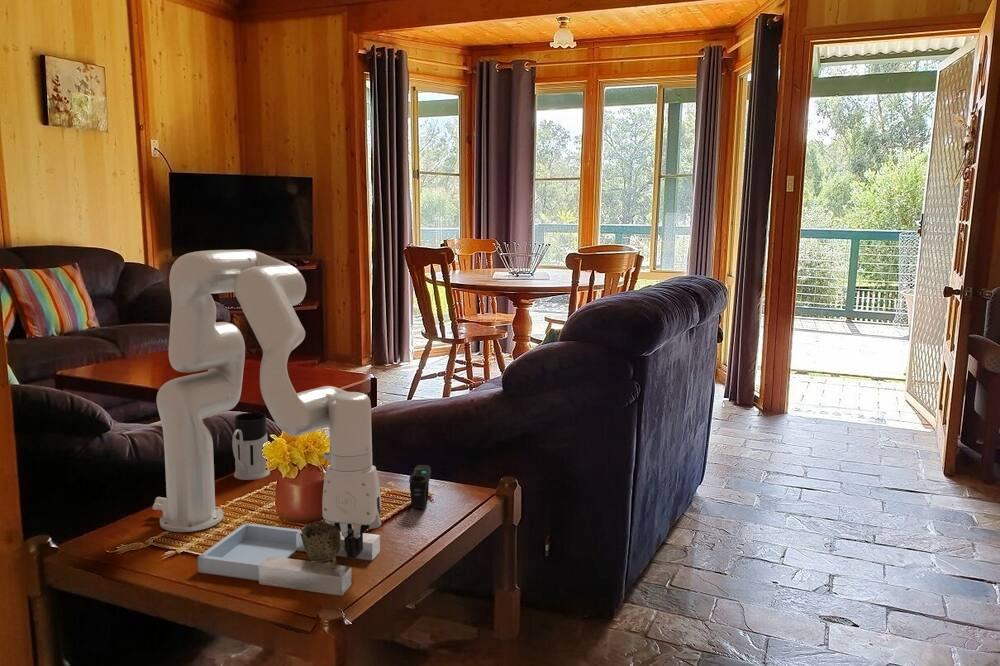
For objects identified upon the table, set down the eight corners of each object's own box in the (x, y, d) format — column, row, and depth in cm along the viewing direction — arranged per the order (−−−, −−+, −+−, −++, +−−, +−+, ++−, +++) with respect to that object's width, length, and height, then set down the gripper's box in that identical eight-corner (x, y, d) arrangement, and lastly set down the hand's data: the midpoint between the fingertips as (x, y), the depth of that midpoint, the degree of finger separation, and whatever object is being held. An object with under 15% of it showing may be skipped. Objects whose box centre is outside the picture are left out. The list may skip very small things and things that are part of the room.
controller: (407, 515, 168) (407, 472, 166) (414, 494, 180) (414, 454, 178) (426, 516, 168) (427, 473, 166) (432, 495, 180) (432, 455, 178)
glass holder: (275, 469, 195) (274, 412, 193) (252, 488, 181) (250, 428, 179) (242, 467, 196) (241, 411, 193) (217, 486, 182) (215, 426, 179)
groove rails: (259, 583, 136) (258, 565, 135) (305, 542, 153) (305, 525, 152) (342, 595, 132) (341, 577, 132) (380, 551, 150) (380, 535, 149)
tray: (198, 572, 139) (197, 557, 139) (245, 536, 155) (244, 522, 154) (262, 581, 137) (261, 565, 136) (303, 544, 152) (303, 530, 152)
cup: (312, 560, 146) (305, 521, 145) (350, 554, 146) (342, 515, 145) (303, 578, 139) (294, 537, 138) (342, 572, 139) (334, 531, 138)
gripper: (304, 463, 136) (307, 560, 138) (382, 469, 133) (384, 568, 135) (322, 451, 143) (325, 543, 146) (397, 456, 140) (399, 550, 143)
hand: (354, 555), depth 141 cm, fingers closed
